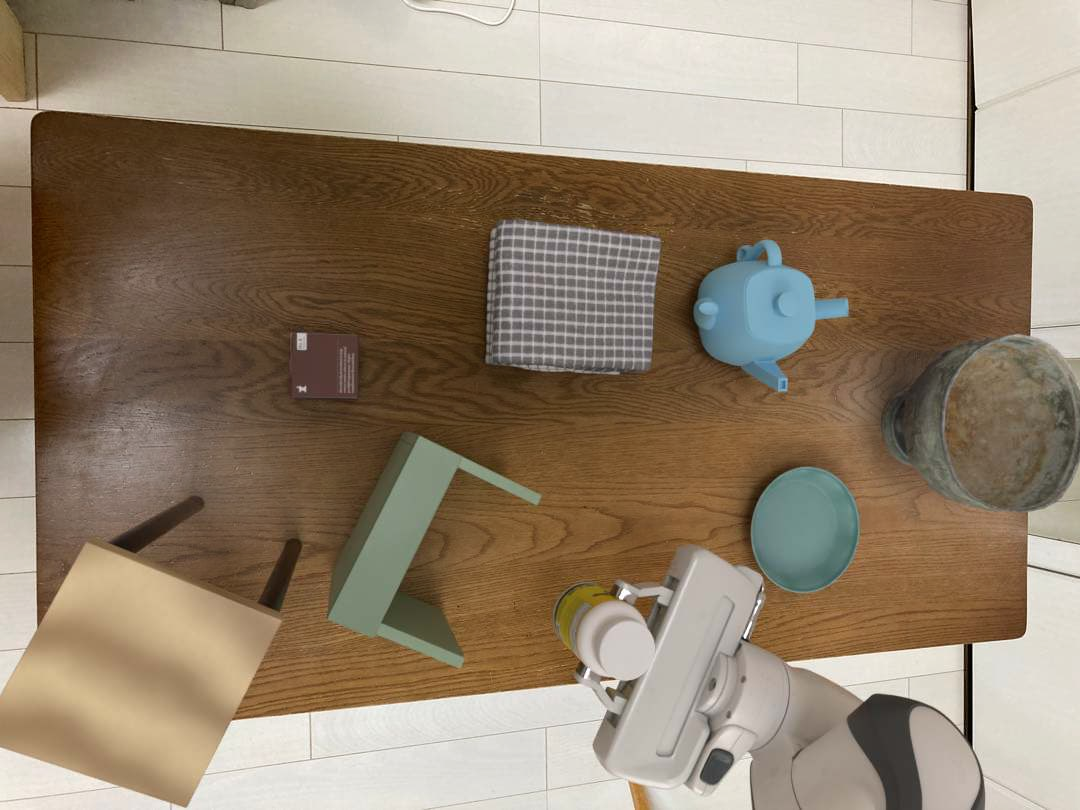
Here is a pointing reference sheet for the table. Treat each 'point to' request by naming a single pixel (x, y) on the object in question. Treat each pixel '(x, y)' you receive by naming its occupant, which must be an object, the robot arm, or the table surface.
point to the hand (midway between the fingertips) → (596, 629)
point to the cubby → (402, 549)
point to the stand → (134, 673)
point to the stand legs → (186, 509)
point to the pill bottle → (604, 631)
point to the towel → (570, 298)
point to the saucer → (805, 529)
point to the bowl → (991, 424)
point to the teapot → (759, 312)
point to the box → (324, 366)
